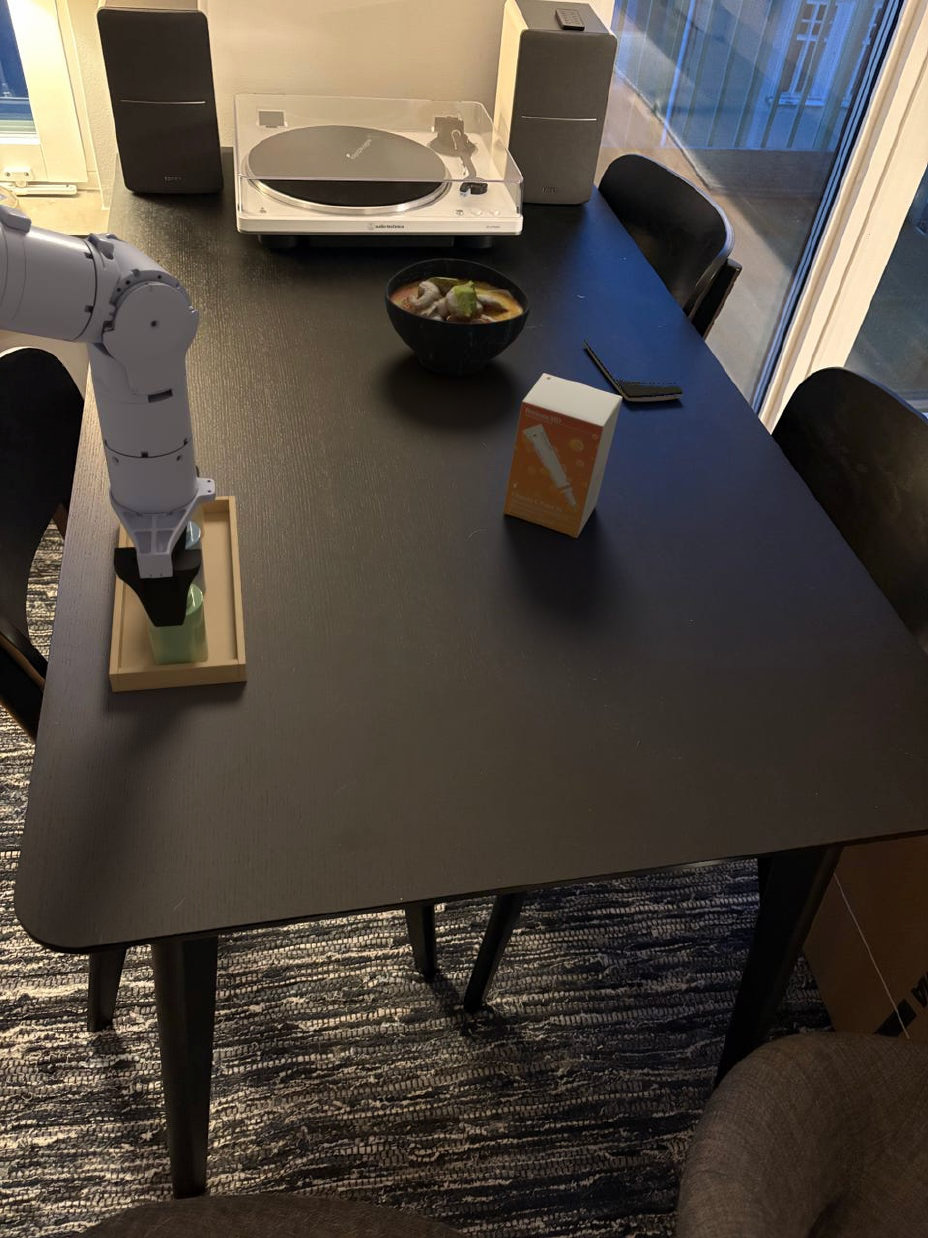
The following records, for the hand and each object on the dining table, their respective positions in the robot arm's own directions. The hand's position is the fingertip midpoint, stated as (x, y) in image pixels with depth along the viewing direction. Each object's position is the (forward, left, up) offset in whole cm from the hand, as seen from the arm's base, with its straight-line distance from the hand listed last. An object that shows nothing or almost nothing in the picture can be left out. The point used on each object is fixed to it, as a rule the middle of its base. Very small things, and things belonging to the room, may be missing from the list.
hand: (169, 588), depth 73 cm
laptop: (+54, +44, -8) cm, 70 cm away
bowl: (+32, +48, -8) cm, 58 cm away
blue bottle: (0, +8, -7) cm, 11 cm away
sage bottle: (0, 0, -7) cm, 7 cm away
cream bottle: (0, +16, -7) cm, 18 cm away
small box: (+36, +17, -8) cm, 41 cm away
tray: (0, +8, -8) cm, 11 cm away
